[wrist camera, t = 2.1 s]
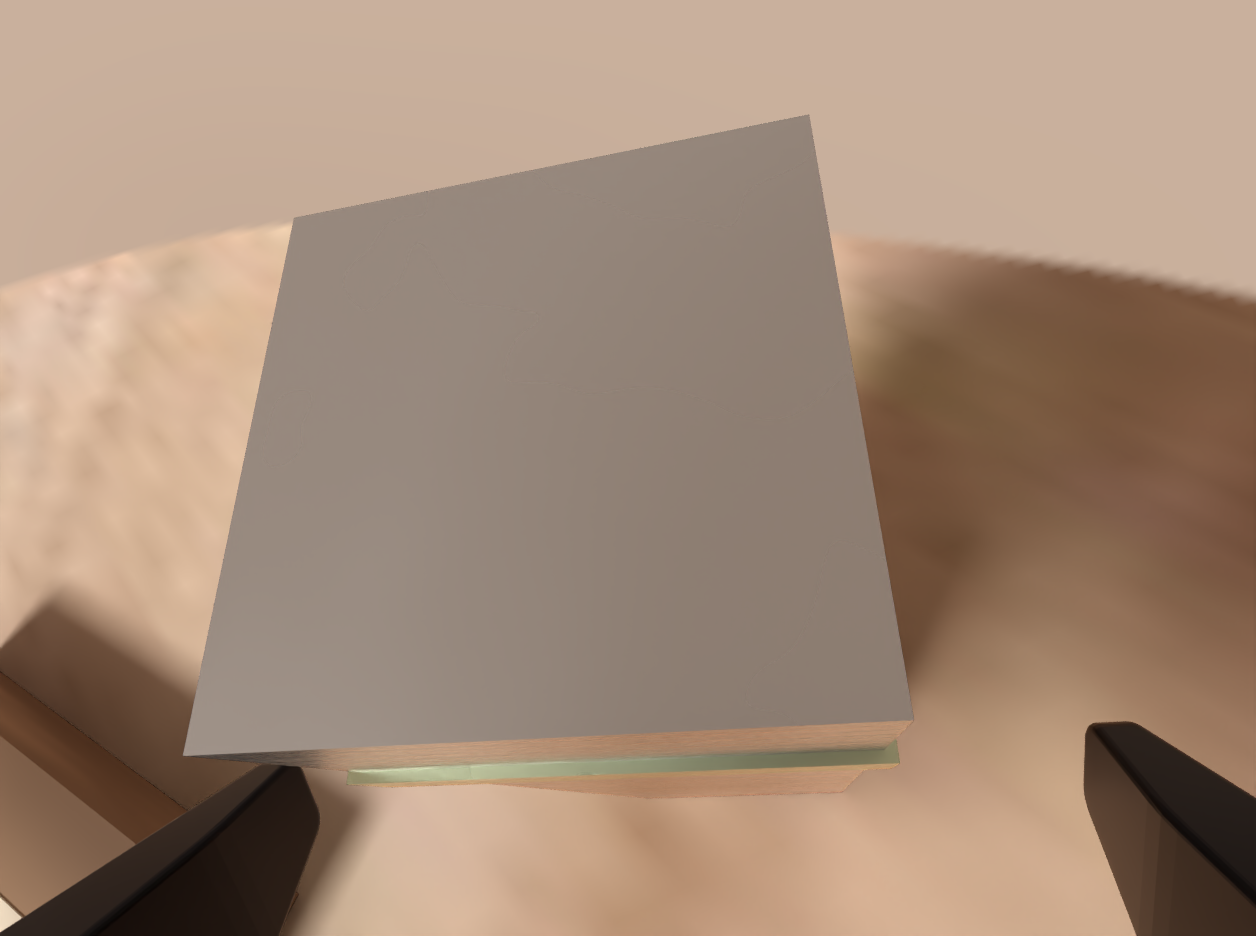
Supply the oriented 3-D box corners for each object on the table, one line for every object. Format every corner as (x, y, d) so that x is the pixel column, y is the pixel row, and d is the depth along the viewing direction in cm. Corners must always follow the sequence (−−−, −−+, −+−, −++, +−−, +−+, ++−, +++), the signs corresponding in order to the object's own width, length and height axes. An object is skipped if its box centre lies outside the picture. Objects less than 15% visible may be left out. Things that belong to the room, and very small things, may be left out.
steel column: (846, 797, 17) (938, 738, 4) (644, 803, 18) (164, 773, 5) (820, 594, 19) (820, 102, 6) (638, 609, 20) (286, 211, 7)
